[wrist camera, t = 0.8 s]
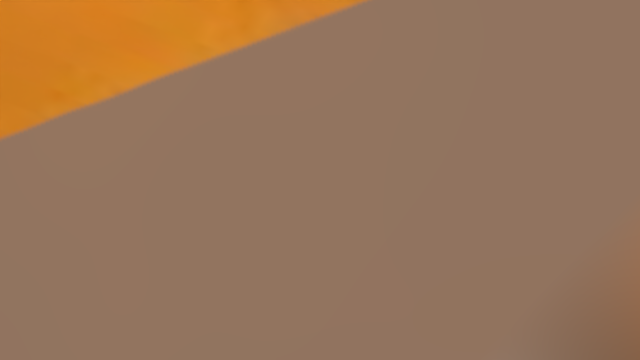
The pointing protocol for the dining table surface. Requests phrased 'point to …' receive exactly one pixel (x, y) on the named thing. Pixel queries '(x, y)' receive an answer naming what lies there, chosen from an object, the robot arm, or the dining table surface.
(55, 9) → the dining table surface
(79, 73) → the dining table surface
